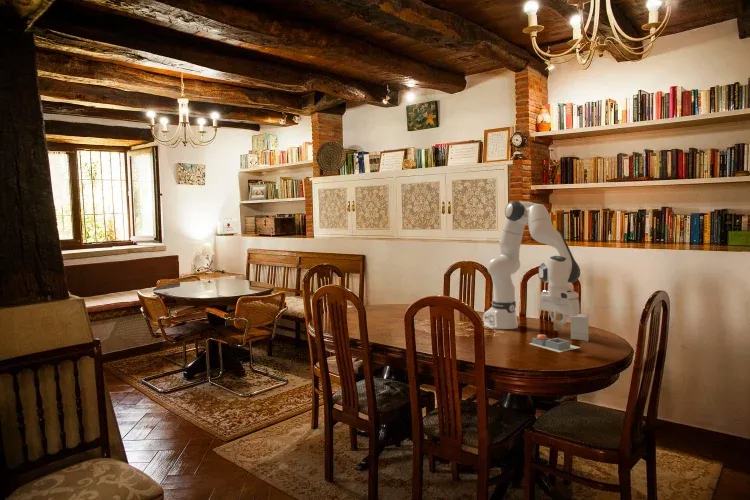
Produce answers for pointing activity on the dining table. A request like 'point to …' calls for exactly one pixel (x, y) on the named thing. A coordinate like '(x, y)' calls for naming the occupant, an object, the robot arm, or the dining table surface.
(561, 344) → the grey test fixture
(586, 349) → the dining table surface
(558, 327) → the cell
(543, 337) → the test button
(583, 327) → the supplement box
